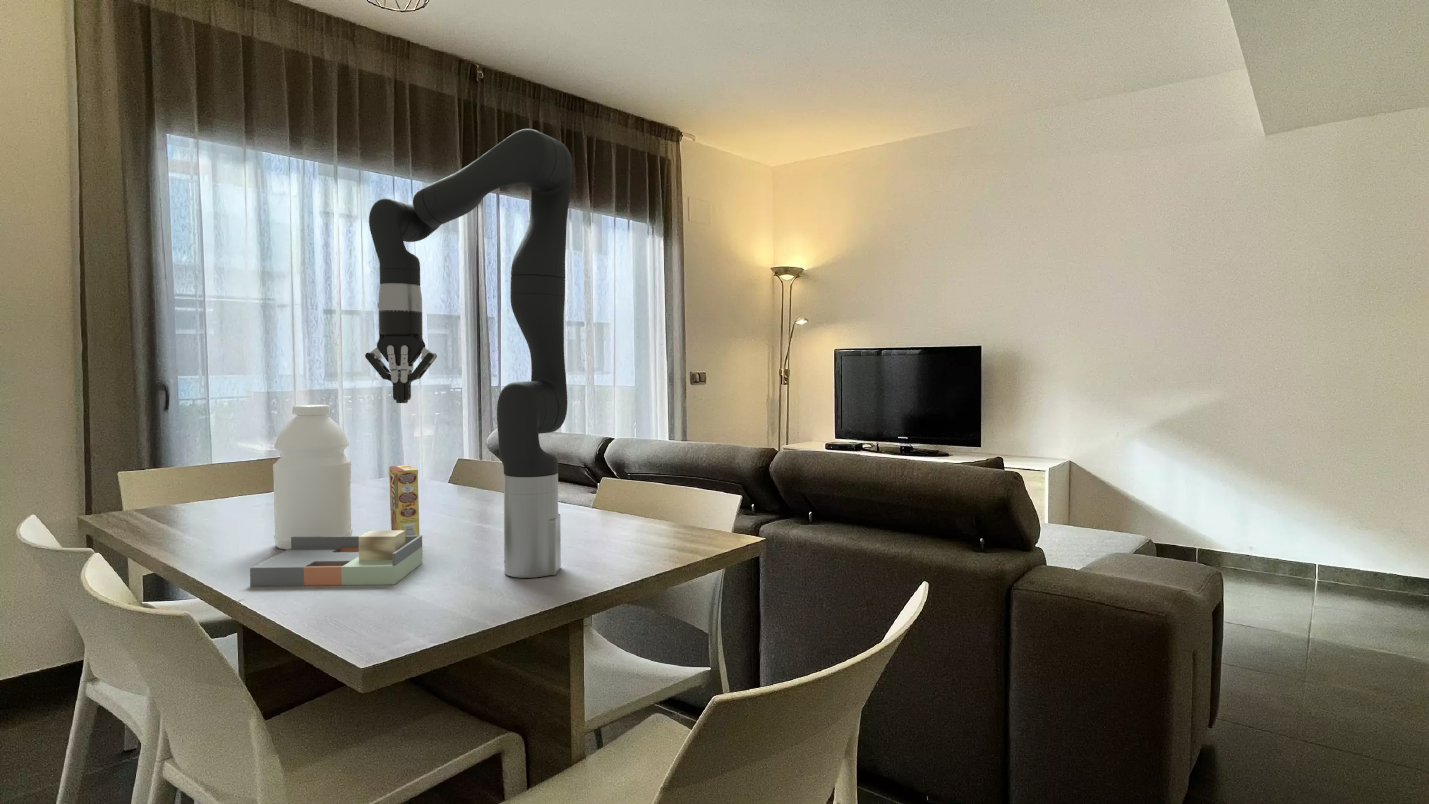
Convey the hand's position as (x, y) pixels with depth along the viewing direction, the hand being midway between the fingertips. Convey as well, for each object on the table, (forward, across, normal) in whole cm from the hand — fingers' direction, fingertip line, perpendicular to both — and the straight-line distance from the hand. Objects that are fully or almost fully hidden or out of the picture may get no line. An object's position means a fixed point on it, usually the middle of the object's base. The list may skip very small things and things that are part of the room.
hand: (401, 402), depth 143 cm
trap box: (+29, +6, +12) cm, 32 cm away
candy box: (+29, +4, -12) cm, 32 cm away
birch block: (+26, -1, +12) cm, 29 cm away
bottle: (+29, +22, -12) cm, 38 cm away
